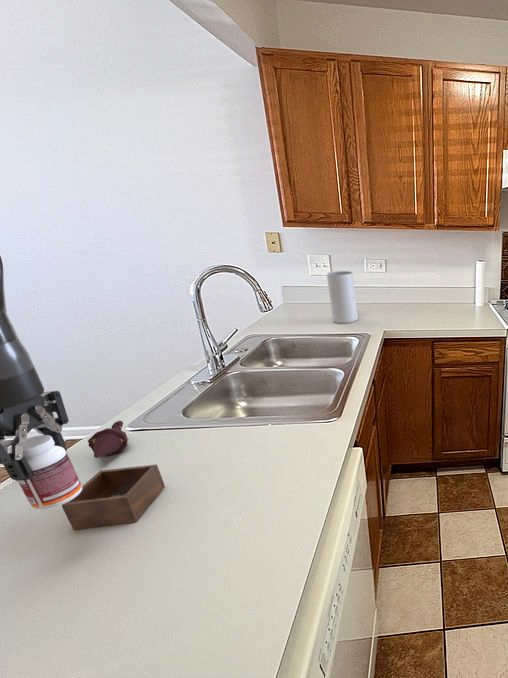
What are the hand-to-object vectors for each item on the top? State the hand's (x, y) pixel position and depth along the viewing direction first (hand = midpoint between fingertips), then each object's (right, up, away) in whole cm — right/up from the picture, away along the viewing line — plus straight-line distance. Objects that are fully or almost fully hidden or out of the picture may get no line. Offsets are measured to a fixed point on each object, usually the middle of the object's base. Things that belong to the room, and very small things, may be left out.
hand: (42, 465), depth 64 cm
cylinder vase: (0, +38, +146) cm, 151 cm away
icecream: (-20, -6, +34) cm, 40 cm away
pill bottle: (0, -6, +3) cm, 7 cm away
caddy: (-2, -13, +17) cm, 21 cm away
